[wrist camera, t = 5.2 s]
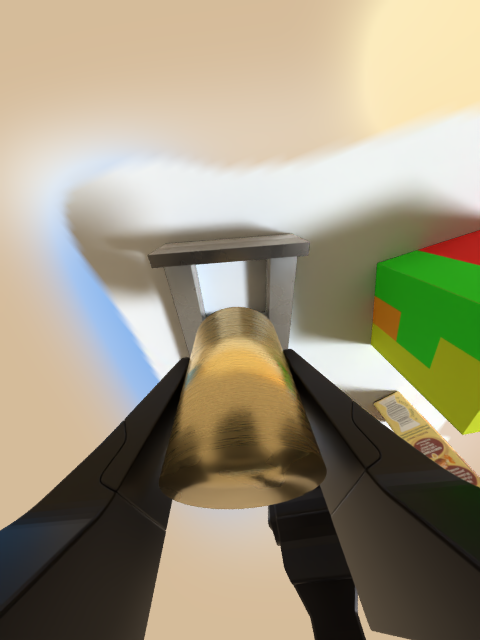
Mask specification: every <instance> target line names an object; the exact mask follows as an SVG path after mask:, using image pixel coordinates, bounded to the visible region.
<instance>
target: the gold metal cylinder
mask: <svg viewBox="0 0 480 640" xmlns="http://www.w3.org/2000/svg"><path fill="white" fill-rule="evenodd" d="M326 474H327V469H326V466H325V463H324V461H323V458H322V455H321V452H320V450H319V447H318V444H317V442H316V439H315V436H314V434H313V431H312V428H311V425H310V423H309V420H308V417H307V415H306V412H305V409H304V406H303V404H302V401H301V398H300V396H299V393H298V390H297V388H296V385H295V382H294V379H293V377H292V374H291V371H290V369H289V366H288V363H287V360H286V358H285V355H284V352H283V350H282V347H281V344H280V341H279V339H278V336H277V333H276V331H275V328H274V326H273V324H272V323H271V321H270V320H269V319H268V318H267V317H266V316H265V315H263V314H262V313H260V312H258V311H256V310H253V309H250V308H245V307H230V308H225V309H221V310H219V311H216V312H214V313H213V314H211V315H209V316H208V317H207V318H206V319H205V320H204V321H203V322H202V323H201V324H200V326H199V328H198V330H197V333H196V337H195V341H194V345H193V349H192V353H191V357H190V361H189V364H188V368H187V372H186V376H185V380H184V384H183V388H182V392H181V396H180V400H179V404H178V408H177V411H176V415H175V419H174V423H173V427H172V431H171V435H170V439H169V443H168V447H167V451H166V455H165V458H164V462H163V466H162V470H161V474H160V478H159V487H160V489H161V491H162V492H163V493H164V494H165V495H166V496H168V497H169V498H171V499H173V500H175V501H177V502H181V503H184V504H187V505H191V506H196V507H203V508H211V509H244V508H254V507H262V506H268V505H273V504H277V503H281V502H285V501H288V500H291V499H294V498H297V497H300V496H302V495H304V494H306V493H308V492H310V491H312V490H313V489H315V488H316V487H318V486H319V485H320V484H321V483H322V482H323V481H324V479H325V477H326Z"/></svg>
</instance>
